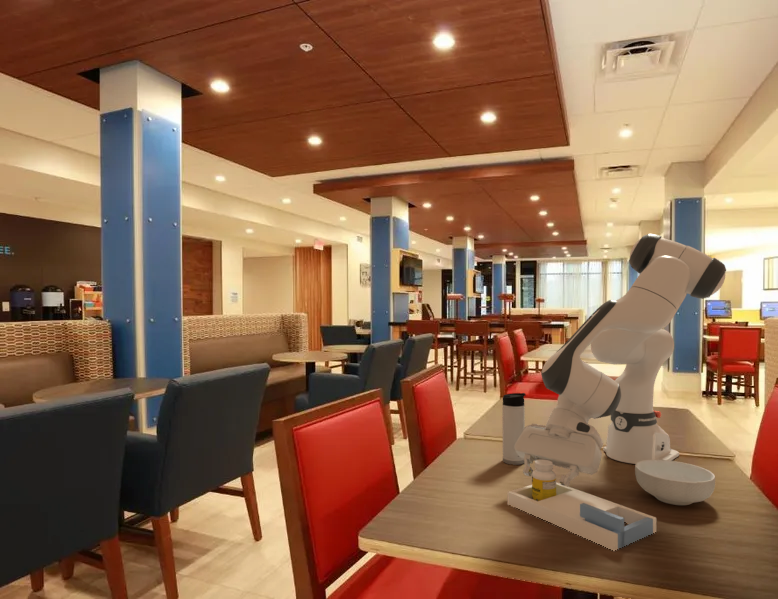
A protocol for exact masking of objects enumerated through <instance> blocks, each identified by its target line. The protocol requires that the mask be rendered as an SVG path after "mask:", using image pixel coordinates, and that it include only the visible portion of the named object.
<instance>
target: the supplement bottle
mask: <svg viewBox="0 0 778 599" xmlns="http://www.w3.org/2000/svg"><path fill="white" fill-rule="evenodd" d="M534 468H535V469H534V470H533V472H532V475H531V485H532V499H533V500H535V501H541V500H544V499H547V498H550V497H553V496H556V482H557V474H556V472H555V471H554V470H553V469H554V465H553V463H552V462H551V461H549V460H536V461H534Z"/></svg>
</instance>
